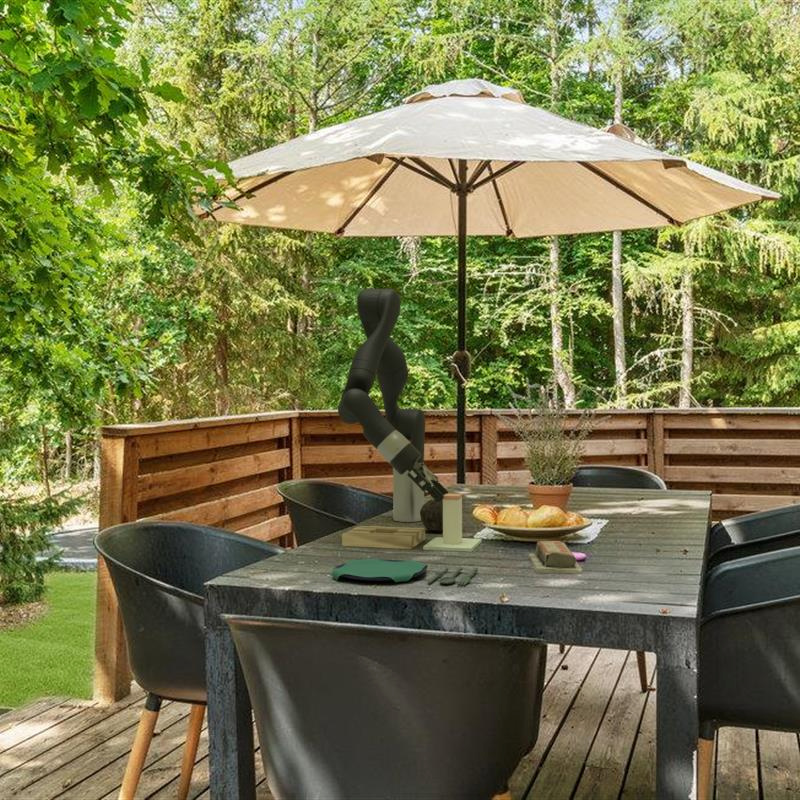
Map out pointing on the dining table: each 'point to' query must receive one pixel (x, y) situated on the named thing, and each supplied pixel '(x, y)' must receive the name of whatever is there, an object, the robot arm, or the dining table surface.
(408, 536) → the wooden peg board
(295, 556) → the dining table surface
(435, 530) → the rock
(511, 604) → the dining table surface
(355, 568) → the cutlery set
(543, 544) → the packaged product
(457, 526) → the plug
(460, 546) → the mat
